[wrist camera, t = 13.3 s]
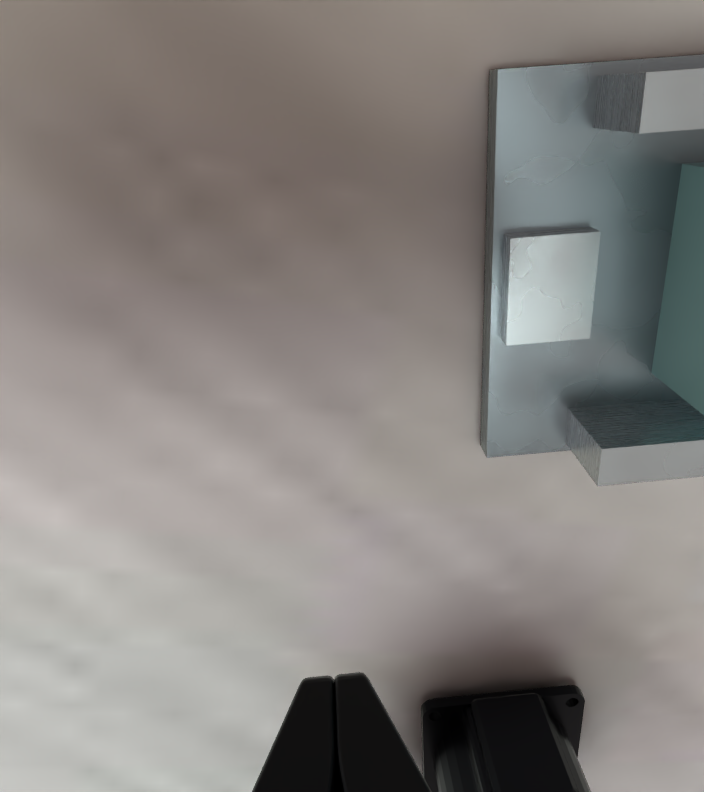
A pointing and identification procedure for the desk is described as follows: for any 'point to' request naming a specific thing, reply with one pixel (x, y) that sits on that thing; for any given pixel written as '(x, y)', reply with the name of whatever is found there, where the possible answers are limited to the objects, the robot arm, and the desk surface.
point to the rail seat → (587, 263)
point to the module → (684, 295)
